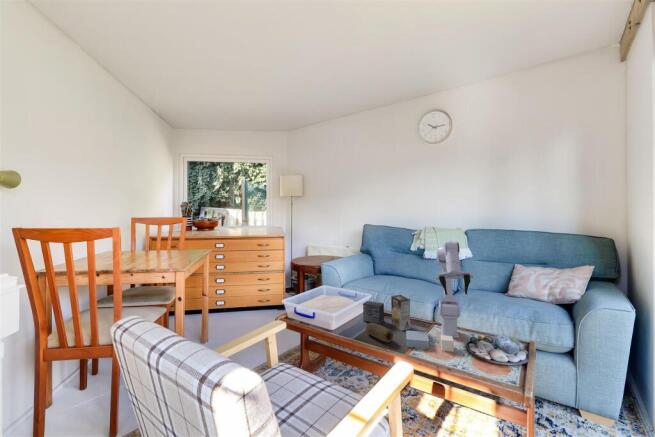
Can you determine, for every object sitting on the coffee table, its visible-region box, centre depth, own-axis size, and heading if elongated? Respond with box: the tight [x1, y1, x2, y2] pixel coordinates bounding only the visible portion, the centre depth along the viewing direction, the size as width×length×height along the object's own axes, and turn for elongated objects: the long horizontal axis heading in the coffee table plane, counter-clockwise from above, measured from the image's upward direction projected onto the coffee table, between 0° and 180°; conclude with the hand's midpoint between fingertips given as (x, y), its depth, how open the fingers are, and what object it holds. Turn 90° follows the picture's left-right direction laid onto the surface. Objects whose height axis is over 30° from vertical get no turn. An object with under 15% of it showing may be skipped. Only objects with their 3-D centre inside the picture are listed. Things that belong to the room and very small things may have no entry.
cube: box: [440, 334, 455, 353], centre depth 139 cm, size 5×5×5 cm
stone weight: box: [365, 322, 394, 343], centre depth 152 cm, size 15×7×7 cm, turn 37°
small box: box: [362, 300, 385, 325], centre depth 173 cm, size 11×6×10 cm, turn 58°
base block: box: [405, 329, 430, 350], centre depth 145 cm, size 10×10×4 cm
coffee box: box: [390, 294, 411, 331], centre depth 164 cm, size 9×6×16 cm
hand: (456, 293), depth 126 cm, fingers open, 7 cm apart
